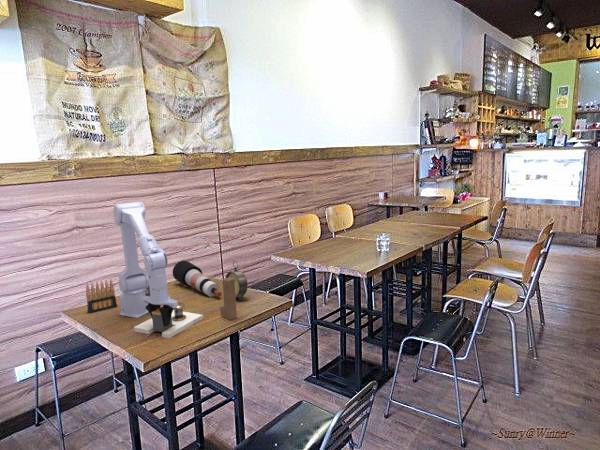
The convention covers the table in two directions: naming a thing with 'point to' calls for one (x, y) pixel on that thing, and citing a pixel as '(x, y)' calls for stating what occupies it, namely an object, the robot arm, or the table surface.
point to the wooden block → (229, 299)
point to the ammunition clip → (100, 297)
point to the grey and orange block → (159, 321)
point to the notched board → (176, 325)
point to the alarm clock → (238, 282)
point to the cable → (195, 278)
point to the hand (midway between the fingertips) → (162, 324)
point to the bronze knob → (179, 313)
